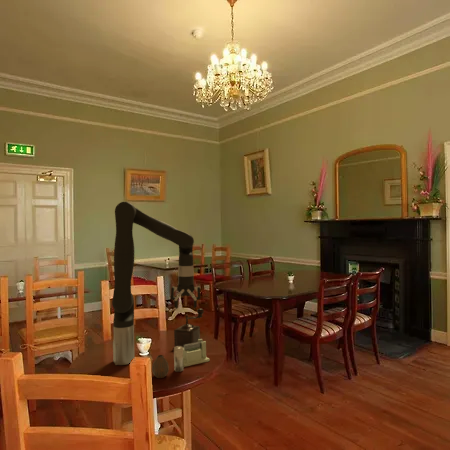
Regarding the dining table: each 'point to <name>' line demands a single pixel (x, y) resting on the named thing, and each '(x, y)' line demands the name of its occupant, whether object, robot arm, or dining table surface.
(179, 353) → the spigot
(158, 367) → the vase
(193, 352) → the dock
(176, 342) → the dark piece
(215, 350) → the dining table surface
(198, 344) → the pin
